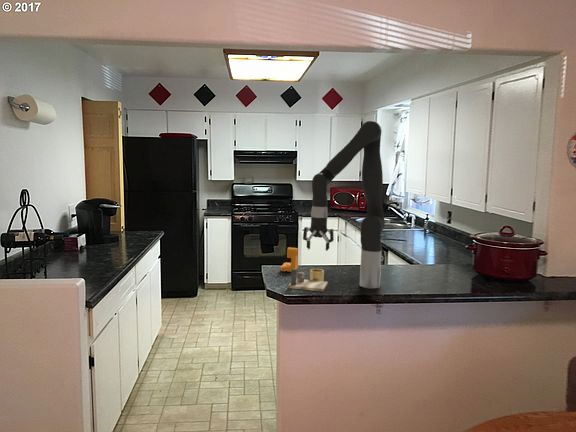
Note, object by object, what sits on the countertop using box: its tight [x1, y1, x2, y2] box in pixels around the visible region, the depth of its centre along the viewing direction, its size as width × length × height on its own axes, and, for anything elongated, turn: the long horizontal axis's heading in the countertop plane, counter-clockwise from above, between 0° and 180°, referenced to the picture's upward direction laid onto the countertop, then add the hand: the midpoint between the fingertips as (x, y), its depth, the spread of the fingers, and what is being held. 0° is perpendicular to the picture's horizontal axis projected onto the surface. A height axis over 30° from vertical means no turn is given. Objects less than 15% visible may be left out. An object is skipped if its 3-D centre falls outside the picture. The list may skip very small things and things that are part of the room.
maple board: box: [287, 269, 329, 293], centre depth 209 cm, size 16×12×8 cm
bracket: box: [280, 246, 299, 273], centre depth 235 cm, size 11×7×12 cm, turn 169°
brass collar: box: [309, 268, 325, 281], centre depth 218 cm, size 6×6×5 cm
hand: (317, 249), depth 216 cm, fingers open, 8 cm apart
